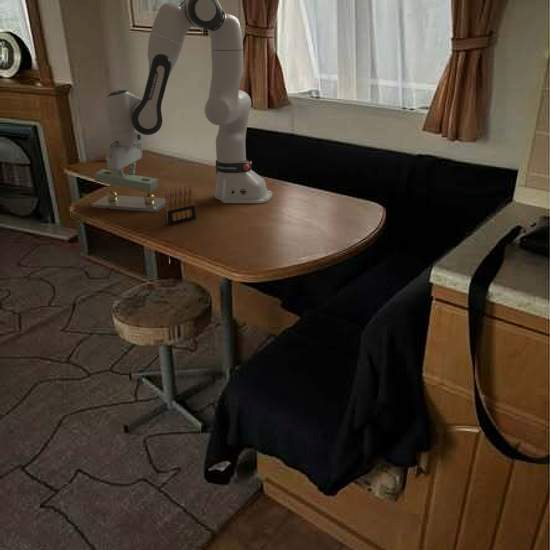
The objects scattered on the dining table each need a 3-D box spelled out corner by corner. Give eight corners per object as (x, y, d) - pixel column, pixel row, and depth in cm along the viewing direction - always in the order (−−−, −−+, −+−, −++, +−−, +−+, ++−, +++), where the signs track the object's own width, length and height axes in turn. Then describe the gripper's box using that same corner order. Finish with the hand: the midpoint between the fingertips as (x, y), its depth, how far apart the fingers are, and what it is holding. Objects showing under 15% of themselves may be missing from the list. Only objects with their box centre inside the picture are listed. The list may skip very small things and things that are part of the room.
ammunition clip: (168, 225, 182) (165, 191, 176) (166, 224, 183) (162, 190, 178) (196, 219, 187) (193, 185, 182) (193, 217, 189) (191, 184, 184)
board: (157, 186, 200) (157, 179, 198) (150, 191, 195) (150, 183, 193) (103, 176, 203) (102, 169, 202) (94, 181, 198) (94, 173, 197)
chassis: (170, 202, 205) (168, 184, 202) (157, 212, 194) (154, 193, 191) (108, 197, 210) (105, 180, 207) (91, 207, 200) (88, 189, 197)
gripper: (116, 145, 182) (121, 185, 188) (143, 133, 200) (147, 170, 206) (99, 144, 183) (105, 184, 189) (128, 132, 201) (132, 169, 207)
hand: (127, 176), depth 198 cm, fingers closed on board, 6 cm apart
